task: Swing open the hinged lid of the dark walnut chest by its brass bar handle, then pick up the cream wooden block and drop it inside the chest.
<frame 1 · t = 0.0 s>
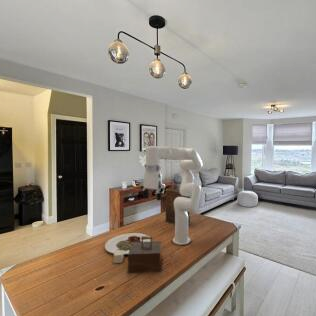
hand: (152, 198, 109), 37 cm above the table, tool pointing down, fingers open, 9 cm apart
block: (118, 260, 113), on the table
lid: (145, 244, 110), point 11 cm above the table, hinge at 0.0°
plated food: (128, 245, 132), on the table
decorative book: (176, 223, 175), on the table
chest: (145, 264, 110), on the table
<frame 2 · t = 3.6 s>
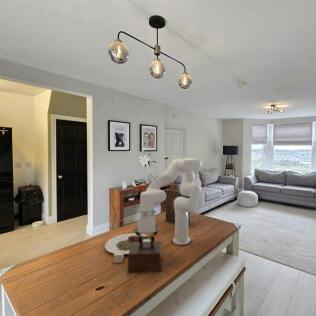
hand: (146, 242, 114), 10 cm above the table, tool pointing down, fingers closed on lid, 6 cm apart
lid: (145, 244, 110), point 11 cm above the table, hinge at 0.0°, touching gripper
everything else where it was.
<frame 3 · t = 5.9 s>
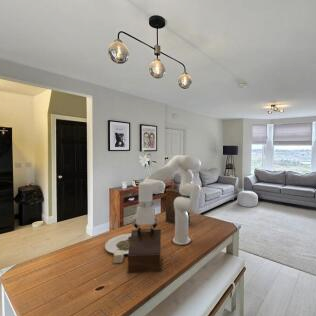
hand: (145, 235, 109), 17 cm above the table, tool pointing down, fingers closed on lid, 6 cm apart
lid: (145, 239, 107), point 15 cm above the table, hinge at 38.5°, touching gripper
everything else where it was.
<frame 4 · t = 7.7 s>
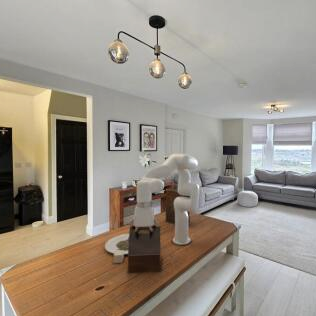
hand: (144, 237, 102), 19 cm above the table, tool pointing down, fingers closed on lid, 6 cm apart
lid: (144, 240, 103), point 17 cm above the table, hinge at 71.9°, touching gripper
everything else where it was.
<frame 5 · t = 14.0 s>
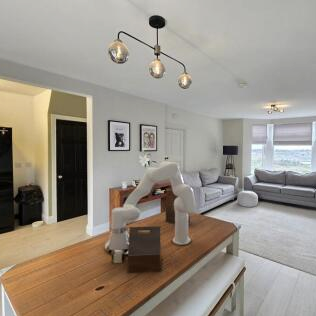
hand: (118, 260, 113), 0 cm above the table, tool pointing down, fingers closed on block, 4 cm apart
block: (118, 260, 113), on the table, touching gripper
lid: (144, 240, 103), point 17 cm above the table, hinge at 72.3°
everything else where it was.
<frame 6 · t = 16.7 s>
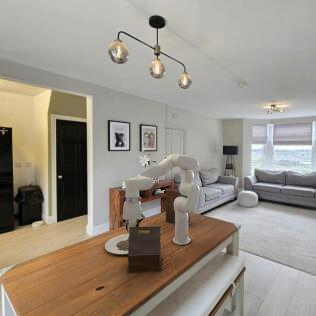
hand: (132, 230, 113), 18 cm above the table, tool pointing down, fingers closed on block, 4 cm apart
block: (132, 230, 113), point 18 cm above the table, touching gripper
everything else where it was.
when the fingers open (10 cm above the table, at t = 19.8 s): block drops 9 cm, resting on chest.
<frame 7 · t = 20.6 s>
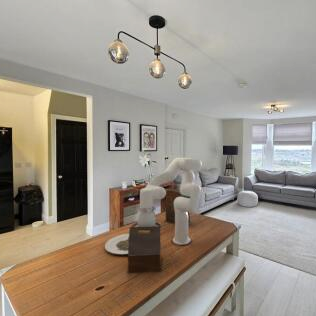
hand: (146, 238, 113), 13 cm above the table, tool pointing down, fingers open, 9 cm apart
block: (145, 262, 110), point 1 cm above the table, touching chest
everything else where it was.
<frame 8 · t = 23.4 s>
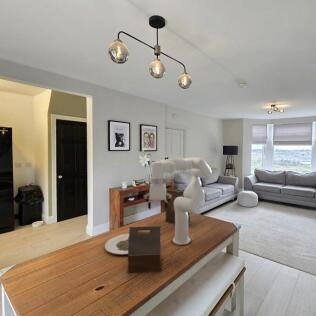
hand: (157, 208, 121), 28 cm above the table, tool pointing down, fingers open, 9 cm apart
nothing on the table moved.
at the end: lid at +72° (first picture: +0°); block inside the target area in the chest (0.6 cm from its centre), point 0.8 cm above the chest's base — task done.
